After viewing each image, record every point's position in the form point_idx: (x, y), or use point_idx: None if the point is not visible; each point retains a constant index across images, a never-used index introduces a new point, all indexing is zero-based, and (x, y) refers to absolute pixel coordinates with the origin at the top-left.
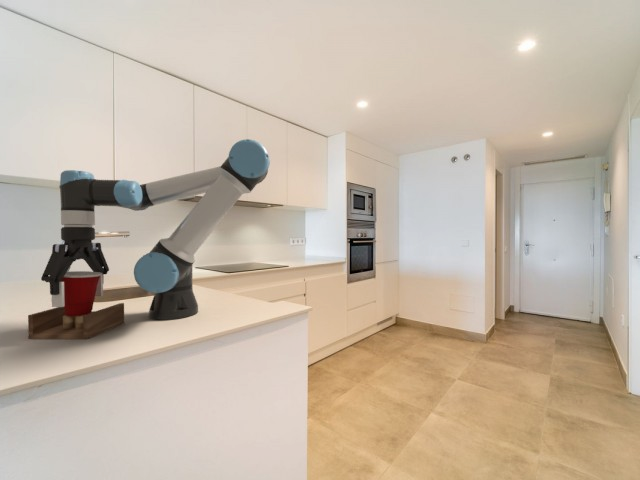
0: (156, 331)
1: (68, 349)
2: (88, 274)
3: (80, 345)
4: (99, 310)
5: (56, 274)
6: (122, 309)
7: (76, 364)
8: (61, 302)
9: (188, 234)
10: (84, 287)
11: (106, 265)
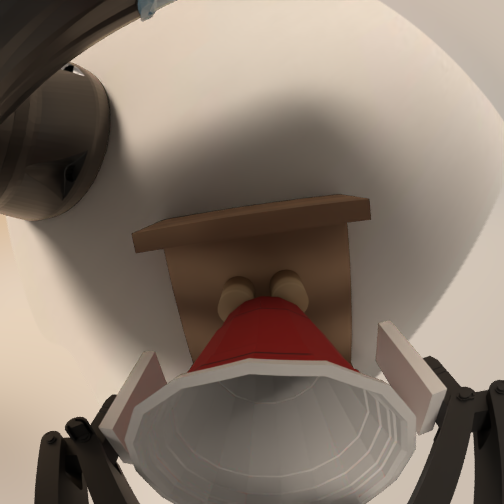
0: (229, 38)
1: (412, 177)
2: (167, 473)
3: (385, 169)
4: (283, 224)
5: (495, 410)
6: (152, 226)
7: (459, 87)
8: (398, 331)
9: None
10: (321, 347)
11: (45, 461)
